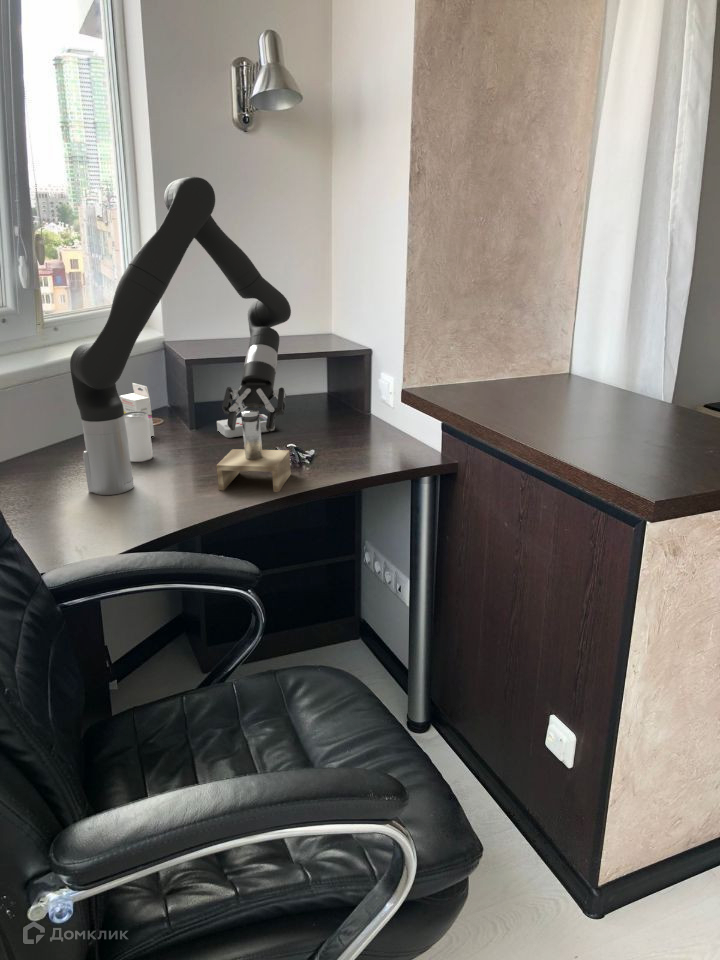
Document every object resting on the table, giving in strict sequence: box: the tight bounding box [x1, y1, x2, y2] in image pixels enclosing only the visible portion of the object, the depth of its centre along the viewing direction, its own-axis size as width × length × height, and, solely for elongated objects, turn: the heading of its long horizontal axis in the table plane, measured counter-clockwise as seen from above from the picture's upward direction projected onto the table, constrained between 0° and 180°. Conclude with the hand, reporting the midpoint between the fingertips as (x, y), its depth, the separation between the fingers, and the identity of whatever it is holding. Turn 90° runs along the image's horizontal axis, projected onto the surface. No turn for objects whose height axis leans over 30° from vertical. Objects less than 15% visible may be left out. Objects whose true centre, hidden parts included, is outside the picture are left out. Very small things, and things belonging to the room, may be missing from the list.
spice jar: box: [240, 408, 263, 460], centre depth 172 cm, size 4×4×11 cm
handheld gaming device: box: [216, 413, 276, 438], centre depth 217 cm, size 9×14×4 cm, turn 118°
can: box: [124, 411, 154, 463], centre depth 193 cm, size 6×6×12 cm
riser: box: [216, 448, 292, 493], centre depth 175 cm, size 14×12×6 cm
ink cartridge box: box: [119, 382, 155, 437], centre depth 213 cm, size 9×5×15 cm, turn 47°
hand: (250, 429), depth 171 cm, fingers open, 8 cm apart
